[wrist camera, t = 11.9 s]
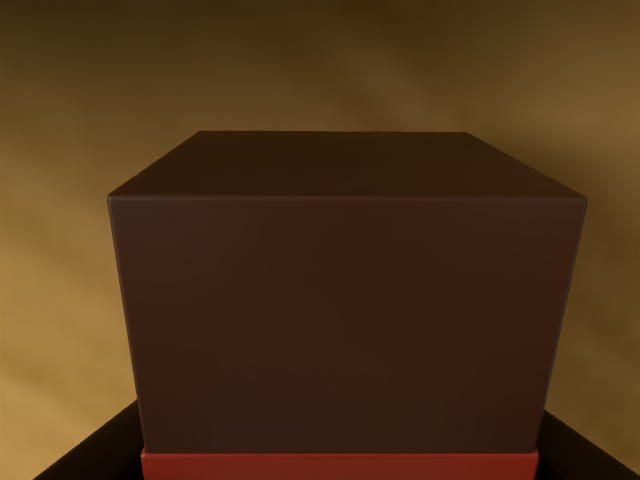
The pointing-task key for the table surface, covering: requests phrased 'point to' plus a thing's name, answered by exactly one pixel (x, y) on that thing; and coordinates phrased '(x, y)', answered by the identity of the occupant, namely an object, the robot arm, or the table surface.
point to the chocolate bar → (342, 305)
